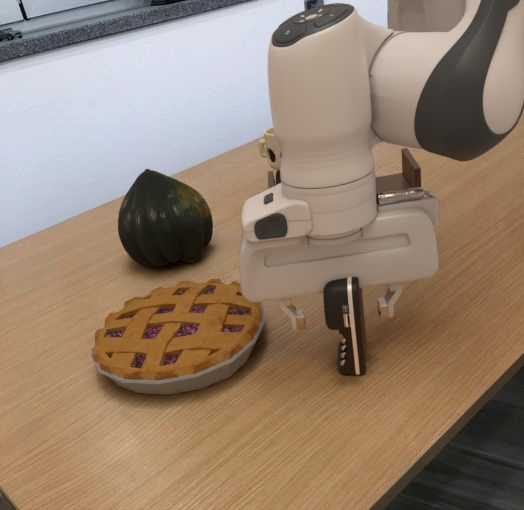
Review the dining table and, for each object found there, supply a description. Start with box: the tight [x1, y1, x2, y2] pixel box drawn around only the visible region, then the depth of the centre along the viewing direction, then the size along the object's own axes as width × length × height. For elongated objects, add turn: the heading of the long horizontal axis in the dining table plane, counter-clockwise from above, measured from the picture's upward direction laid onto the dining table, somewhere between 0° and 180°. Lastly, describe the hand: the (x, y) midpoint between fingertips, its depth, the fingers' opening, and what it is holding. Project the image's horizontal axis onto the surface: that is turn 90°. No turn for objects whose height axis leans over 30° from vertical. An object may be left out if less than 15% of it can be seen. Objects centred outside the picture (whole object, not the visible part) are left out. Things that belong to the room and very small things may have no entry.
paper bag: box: [387, 0, 467, 32], centre depth 128 cm, size 19×15×28 cm
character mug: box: [258, 125, 282, 185], centre depth 108 cm, size 11×7×13 cm, turn 62°
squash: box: [117, 168, 214, 268], centre depth 96 cm, size 14×15×15 cm
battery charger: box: [322, 277, 367, 376], centre depth 65 cm, size 7×4×11 cm, turn 171°
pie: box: [90, 278, 266, 396], centre depth 74 cm, size 22×22×5 cm
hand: (342, 321), depth 66 cm, fingers open, 8 cm apart
